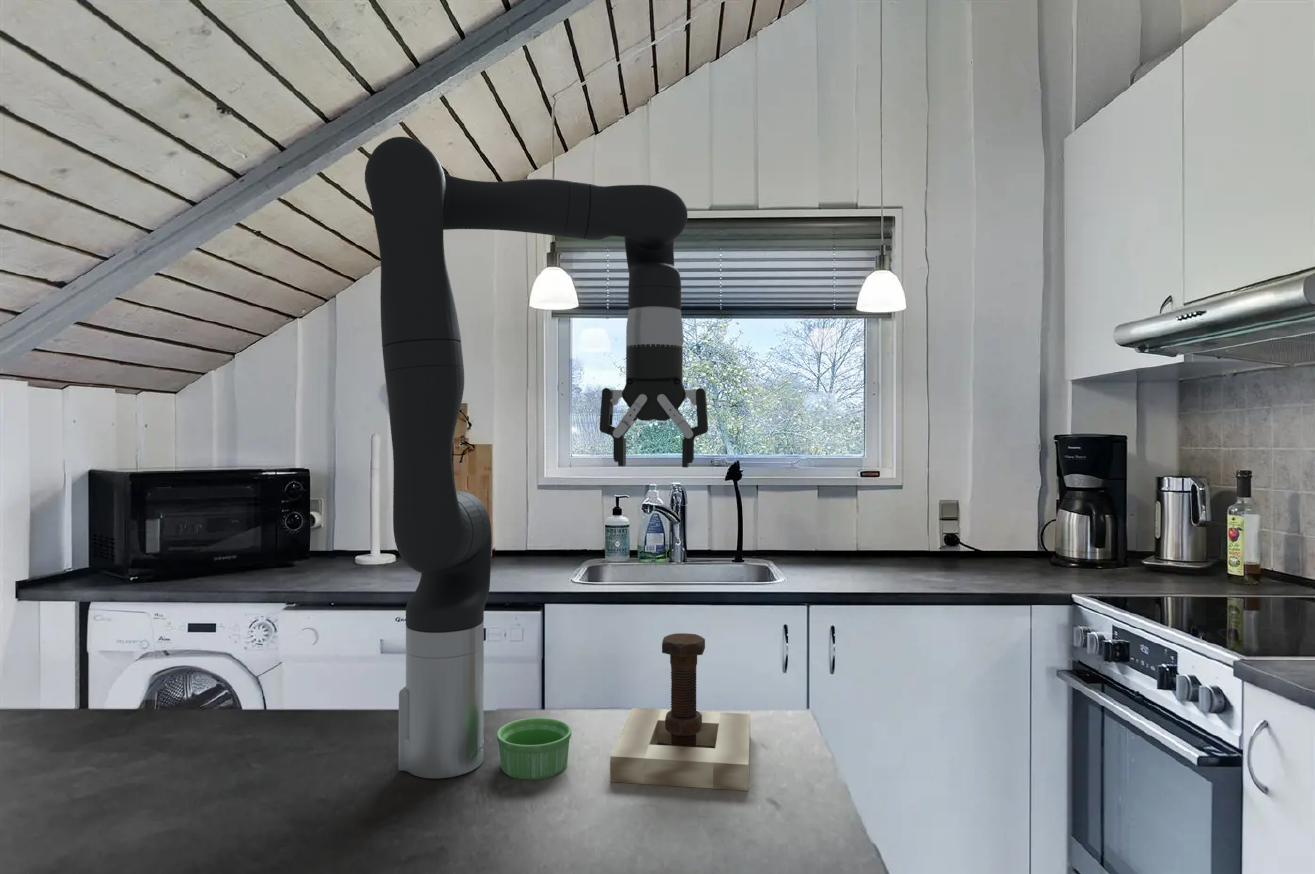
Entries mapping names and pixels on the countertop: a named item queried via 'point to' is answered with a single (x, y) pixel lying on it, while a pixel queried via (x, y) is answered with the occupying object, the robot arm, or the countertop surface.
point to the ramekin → (534, 747)
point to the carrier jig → (683, 752)
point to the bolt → (683, 687)
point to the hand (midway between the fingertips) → (653, 466)
